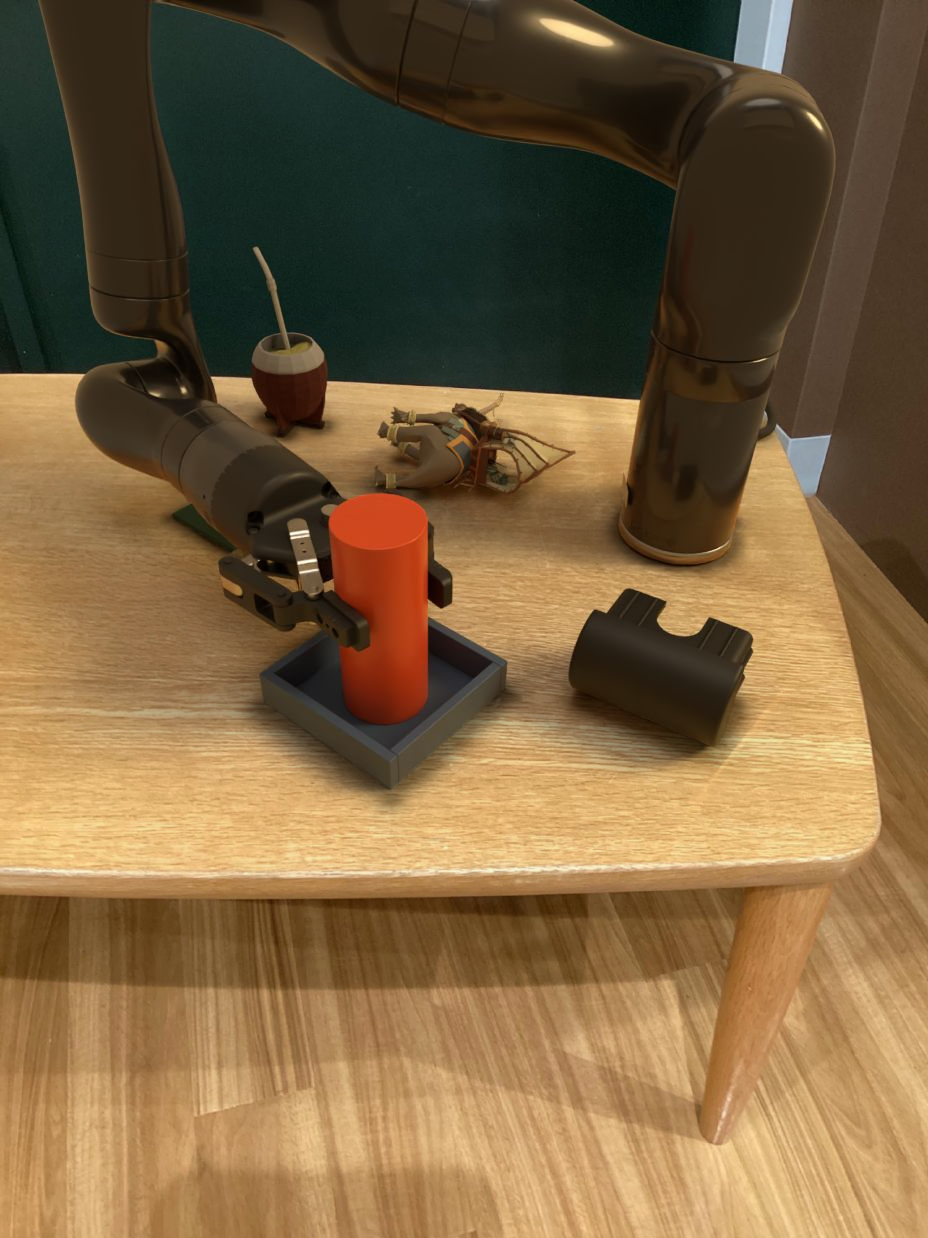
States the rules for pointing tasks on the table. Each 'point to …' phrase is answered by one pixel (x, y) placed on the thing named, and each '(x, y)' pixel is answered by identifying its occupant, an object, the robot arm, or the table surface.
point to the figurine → (464, 449)
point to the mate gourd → (289, 373)
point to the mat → (201, 526)
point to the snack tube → (383, 603)
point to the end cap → (661, 666)
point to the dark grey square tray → (389, 752)
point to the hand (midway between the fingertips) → (407, 615)
